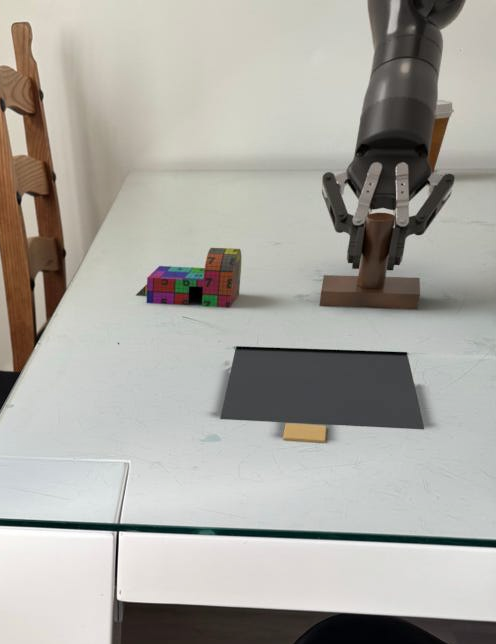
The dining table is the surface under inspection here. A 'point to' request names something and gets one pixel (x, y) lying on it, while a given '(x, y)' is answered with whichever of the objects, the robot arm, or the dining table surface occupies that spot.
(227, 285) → the block
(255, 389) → the scrub mat
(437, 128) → the disposable coffee cup
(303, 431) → the tan flat square block
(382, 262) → the scrub brush
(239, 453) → the dining table surface
